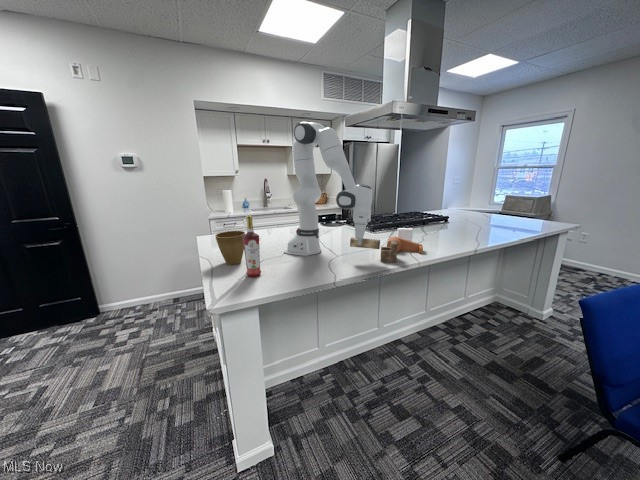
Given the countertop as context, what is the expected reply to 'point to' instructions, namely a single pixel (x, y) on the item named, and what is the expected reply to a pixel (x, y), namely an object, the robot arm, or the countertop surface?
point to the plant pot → (231, 246)
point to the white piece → (405, 233)
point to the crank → (406, 245)
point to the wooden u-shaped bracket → (389, 252)
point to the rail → (365, 243)
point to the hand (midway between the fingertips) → (359, 243)
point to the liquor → (251, 249)
